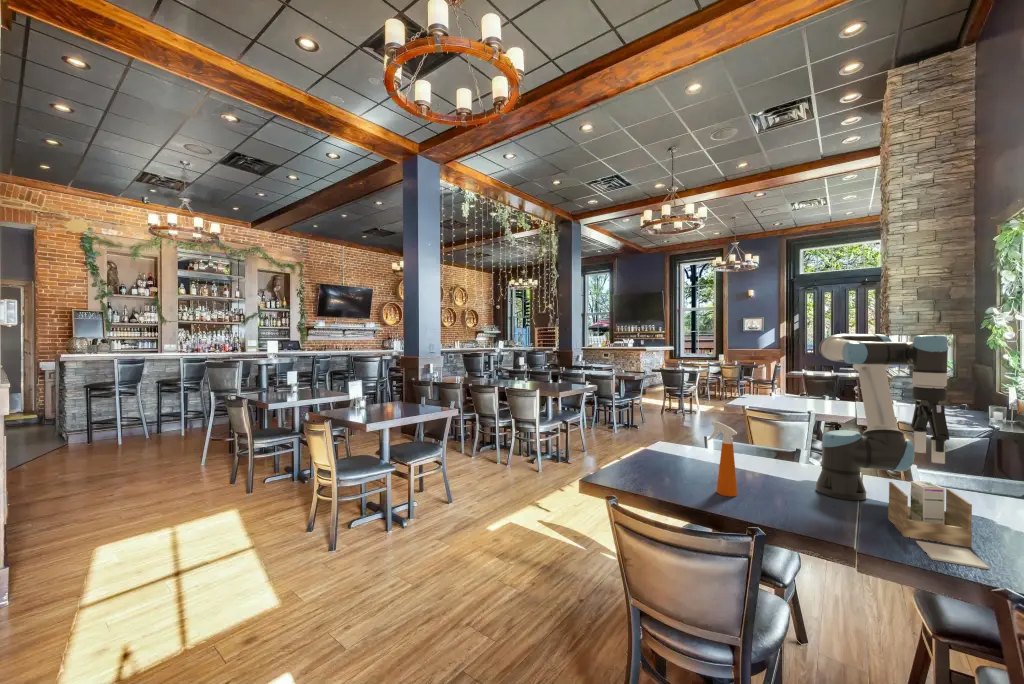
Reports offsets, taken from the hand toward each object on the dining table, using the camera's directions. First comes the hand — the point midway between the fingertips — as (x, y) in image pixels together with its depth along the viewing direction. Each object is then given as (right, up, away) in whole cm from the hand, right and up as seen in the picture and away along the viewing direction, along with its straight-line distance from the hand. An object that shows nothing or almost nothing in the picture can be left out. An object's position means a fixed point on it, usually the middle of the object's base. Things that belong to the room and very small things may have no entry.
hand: (928, 457), depth 133 cm
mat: (-7, -23, -14) cm, 28 cm away
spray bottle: (-46, -22, +33) cm, 61 cm away
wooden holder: (0, -23, 0) cm, 23 cm away
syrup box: (0, -23, 0) cm, 23 cm away
